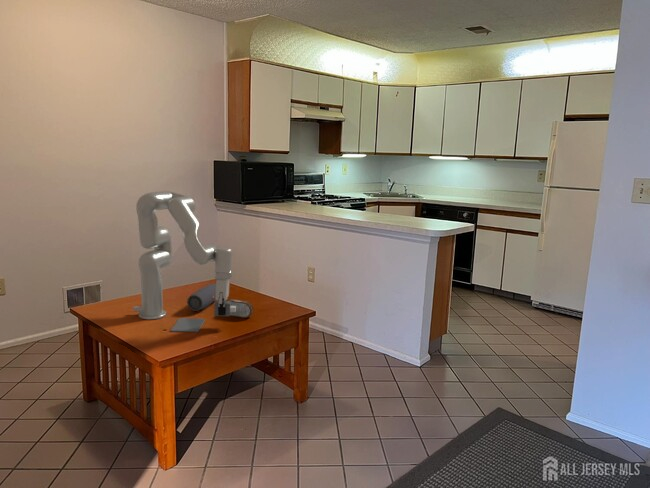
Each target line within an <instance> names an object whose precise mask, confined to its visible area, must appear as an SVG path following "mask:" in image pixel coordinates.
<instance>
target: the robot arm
mask: <svg viewBox="0 0 650 488" xmlns="http://www.w3.org/2000/svg"><path fill="white" fill-rule="evenodd" d="M135 207H136V208H135V209H136V215H137V220H138V222H137V223H138V231H139V232H138V233H139V243H140V246H141V247H142V248H143V249H147V250H149V249H150V250H149V251H146V252H143V253H142V254H140V256H139V258H138V261H137V262H138V268H139V273H140V285H141V286H140V287H141V288H140V289H141V295H140V296H141V305H140V306H136V305H135V306H134V305H133V307H132V310H133V312H138V318H139V319H142V320H158V319H162V318H164V317H166V315H167V311H166V310H164V309H163V308H164V305H163V304H164V302H163V301H164V300H163V277H162V274H161V272H160V270H161V269H164V268H167V267H168V266H170V265H171V263H172V261H173V247H172V238H171V237H172V236H171V234H170V230H169V229H168V228H166V227H164V226H161V225H160V226H159V224H158V223H159V222H158V221H159V220H158V217H157V214H156V213H155V212H156V211H161V210H168V211H169V213H170V215H171V216H172V218H173V220H174V221H175V223H176V224H177V226H178V227H179V229H180V230H181V231H182V233H183V243H184V246H185V250H186V251H187V253H188V254H189V256H190V257H191V259H192V260H193V261H194V262H195V263H196V264H198V265H206V264H209V263H212V262H213V263H214V279H215V280H216V282H215V284H216V295H215V301H219V306H218V315H225V313H226V307H225V301H228V299H229V298H228V297H229V295H230V280H232V278H233V275H232V274H233V249H232V248H230V247H227V246H226V247H225V246H223V247H222V246H218V245H215V244H209V245H204V246H203V245H202V244H201V242H200V241H199V239H198V233H197V232H198V229H199V228H200V226H201V225H200V224H201V223H200V222H199V219H198V218H197V217H196V215H195V214H194V211H195V210H196V207H197V206H196V203H195V200H194V198H191V196H188V195H185V194H181V193H177V192H173V191H169V190H168V191H167V190H163V191H151V192H146V193H145V194H143V195H141V196H140V197H139V198H138V199H137V202H136V206H135ZM152 249H153V250H152ZM223 302H224V303H223Z"/></svg>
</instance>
